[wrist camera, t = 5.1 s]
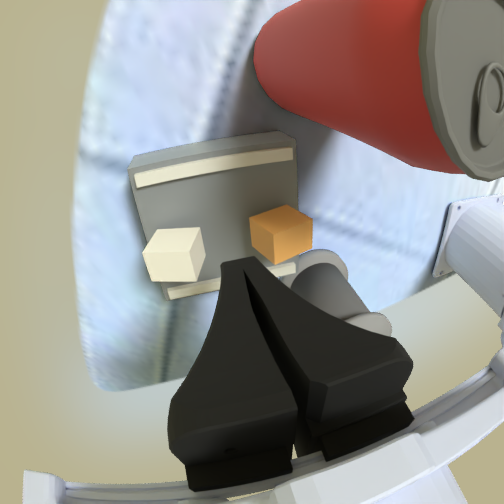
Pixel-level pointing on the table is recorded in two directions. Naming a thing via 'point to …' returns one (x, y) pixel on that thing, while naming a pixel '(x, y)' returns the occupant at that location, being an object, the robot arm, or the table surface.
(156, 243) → the cream cube
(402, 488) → the robot arm
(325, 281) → the cord spool
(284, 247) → the orange cube
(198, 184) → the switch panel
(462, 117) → the beer can
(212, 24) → the table surface
